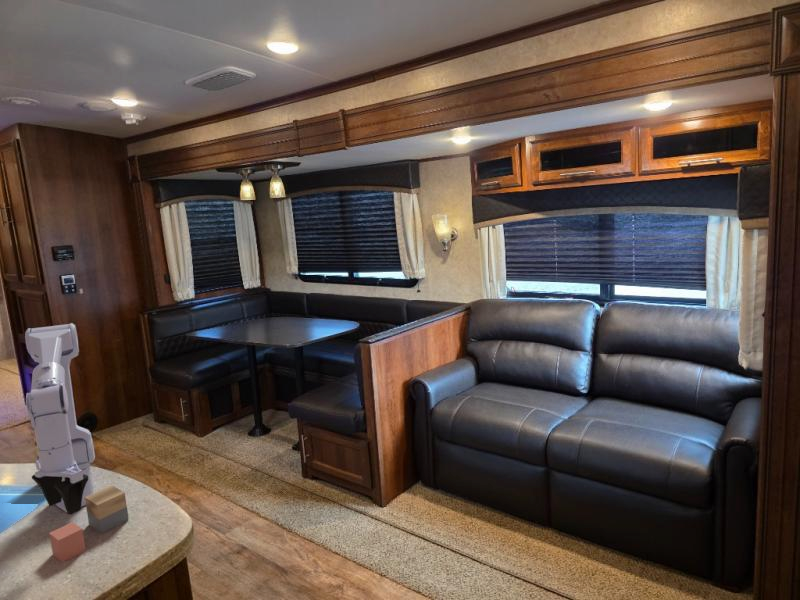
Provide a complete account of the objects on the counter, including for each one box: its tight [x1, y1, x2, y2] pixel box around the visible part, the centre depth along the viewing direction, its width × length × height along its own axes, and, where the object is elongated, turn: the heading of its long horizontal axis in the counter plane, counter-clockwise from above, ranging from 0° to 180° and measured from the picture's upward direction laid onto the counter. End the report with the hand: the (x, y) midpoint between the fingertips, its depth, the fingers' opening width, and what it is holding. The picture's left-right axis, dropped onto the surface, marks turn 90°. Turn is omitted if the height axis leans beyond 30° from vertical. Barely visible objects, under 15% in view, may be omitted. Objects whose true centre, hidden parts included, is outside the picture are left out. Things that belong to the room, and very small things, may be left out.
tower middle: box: [85, 485, 128, 520], centre depth 118 cm, size 6×6×4 cm
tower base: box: [86, 506, 130, 534], centre depth 118 cm, size 6×6×4 cm
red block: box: [48, 521, 87, 563], centre depth 108 cm, size 4×4×5 cm
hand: (64, 507), depth 106 cm, fingers open, 7 cm apart
